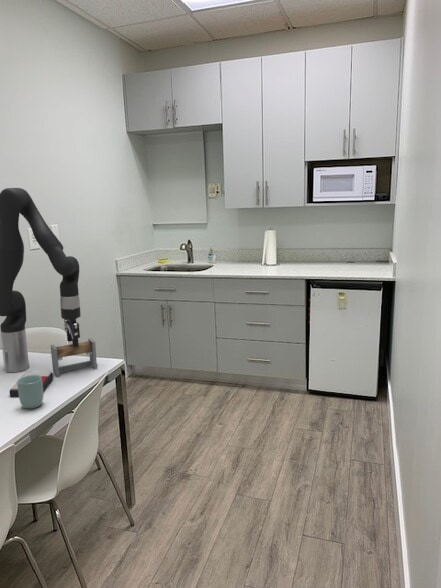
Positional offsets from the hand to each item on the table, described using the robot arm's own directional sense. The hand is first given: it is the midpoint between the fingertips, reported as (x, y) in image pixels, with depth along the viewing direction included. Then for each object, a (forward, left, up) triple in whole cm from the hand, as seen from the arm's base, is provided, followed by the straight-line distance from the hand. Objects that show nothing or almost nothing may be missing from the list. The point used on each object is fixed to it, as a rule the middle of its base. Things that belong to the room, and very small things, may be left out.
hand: (72, 344), depth 181 cm
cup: (-21, -24, -12) cm, 34 cm away
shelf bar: (0, 0, -4) cm, 4 cm away
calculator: (-18, -9, -12) cm, 24 cm away
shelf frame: (0, 0, -12) cm, 12 cm away
